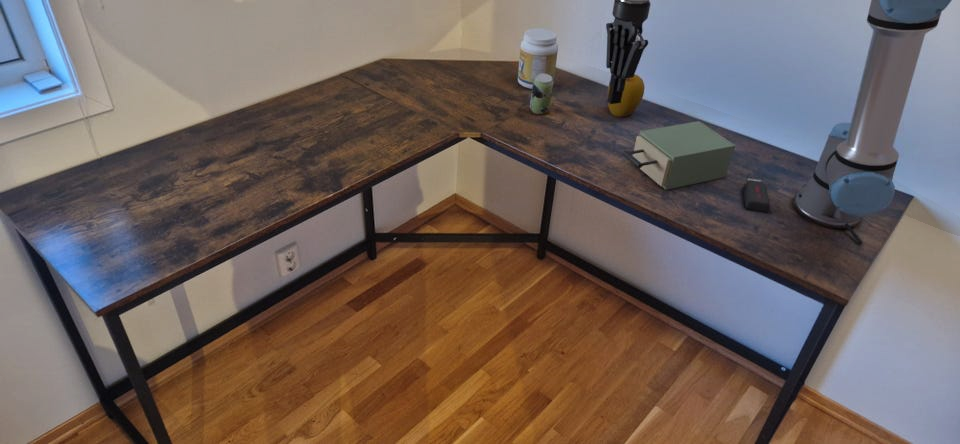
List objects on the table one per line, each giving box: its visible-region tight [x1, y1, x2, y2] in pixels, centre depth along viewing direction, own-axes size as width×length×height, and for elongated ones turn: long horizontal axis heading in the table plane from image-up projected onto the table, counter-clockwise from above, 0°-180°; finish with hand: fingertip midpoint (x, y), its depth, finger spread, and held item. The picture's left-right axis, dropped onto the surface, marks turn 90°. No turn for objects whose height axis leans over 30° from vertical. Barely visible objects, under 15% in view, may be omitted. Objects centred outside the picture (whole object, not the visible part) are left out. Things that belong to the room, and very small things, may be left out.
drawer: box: [622, 135, 671, 187], centre depth 171 cm, size 25×13×8 cm, turn 114°
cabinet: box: [638, 120, 736, 191], centre depth 173 cm, size 20×15×10 cm
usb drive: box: [742, 178, 771, 213], centre depth 165 cm, size 5×12×3 cm, turn 167°
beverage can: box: [529, 73, 554, 115], centre depth 197 cm, size 6×7×12 cm
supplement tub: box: [517, 28, 559, 90], centre depth 213 cm, size 12×12×17 cm
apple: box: [606, 73, 645, 118], centre depth 198 cm, size 11×11×13 cm
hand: (613, 102), depth 151 cm, fingers closed
